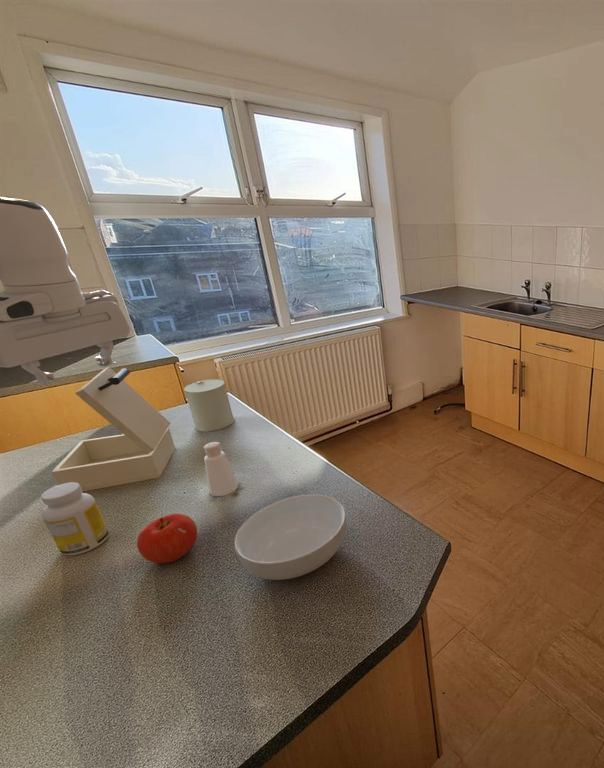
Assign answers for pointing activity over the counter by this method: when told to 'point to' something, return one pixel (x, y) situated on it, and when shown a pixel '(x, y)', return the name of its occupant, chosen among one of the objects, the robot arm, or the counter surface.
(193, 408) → the can
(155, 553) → the apple
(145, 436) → the box lid
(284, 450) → the counter surface
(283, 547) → the cereal bowl
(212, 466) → the salt shaker
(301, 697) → the counter surface
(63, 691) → the counter surface
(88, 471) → the cream open box
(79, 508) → the pill bottle
